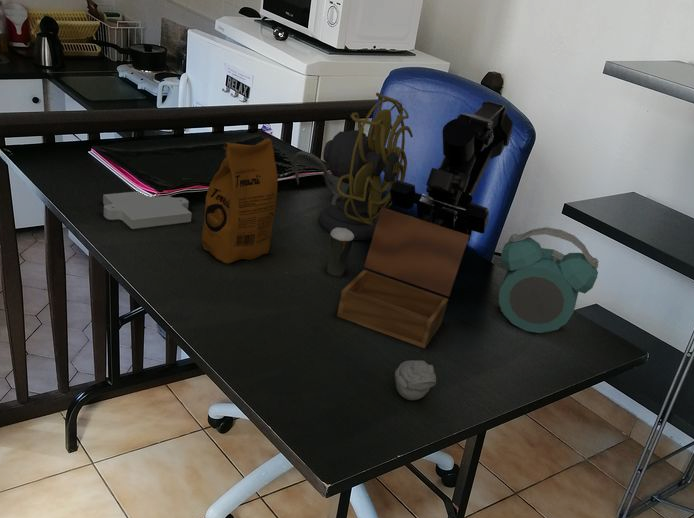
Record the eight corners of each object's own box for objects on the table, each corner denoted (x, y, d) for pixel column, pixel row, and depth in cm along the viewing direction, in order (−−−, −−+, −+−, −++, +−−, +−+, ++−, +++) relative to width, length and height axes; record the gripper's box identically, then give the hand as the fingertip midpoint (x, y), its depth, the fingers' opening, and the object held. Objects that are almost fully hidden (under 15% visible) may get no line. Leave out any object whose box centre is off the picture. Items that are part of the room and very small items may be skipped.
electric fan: (350, 256, 156) (379, 111, 141) (231, 203, 168) (246, 65, 153) (409, 227, 176) (441, 98, 161) (299, 182, 188) (319, 57, 173)
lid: (468, 235, 132) (469, 235, 133) (381, 207, 136) (382, 206, 137) (448, 296, 135) (449, 296, 136) (363, 267, 139) (365, 266, 140)
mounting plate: (171, 196, 165) (171, 188, 164) (201, 220, 157) (202, 211, 156) (91, 204, 154) (91, 195, 153) (119, 230, 146) (120, 221, 145)
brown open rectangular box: (424, 348, 129) (432, 322, 127) (336, 316, 133) (342, 290, 131) (441, 323, 138) (448, 298, 136) (358, 294, 142) (363, 269, 139)
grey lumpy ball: (402, 413, 112) (412, 375, 108) (382, 386, 117) (392, 348, 113) (437, 410, 114) (449, 372, 111) (416, 383, 120) (427, 346, 116)
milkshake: (347, 281, 146) (357, 233, 141) (321, 274, 146) (329, 226, 141) (352, 271, 150) (362, 225, 145) (326, 265, 150) (335, 218, 145)
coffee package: (193, 245, 146) (203, 134, 135) (245, 236, 155) (258, 130, 144) (223, 267, 141) (235, 153, 130) (275, 256, 149) (291, 148, 138)
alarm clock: (574, 328, 147) (610, 234, 137) (570, 349, 139) (608, 251, 129) (488, 300, 150) (518, 206, 140) (479, 320, 142) (510, 222, 132)
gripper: (404, 137, 138) (371, 210, 134) (502, 166, 134) (471, 242, 130) (408, 169, 148) (377, 237, 145) (499, 197, 144) (470, 268, 140)
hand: (422, 245), depth 140 cm, fingers closed
